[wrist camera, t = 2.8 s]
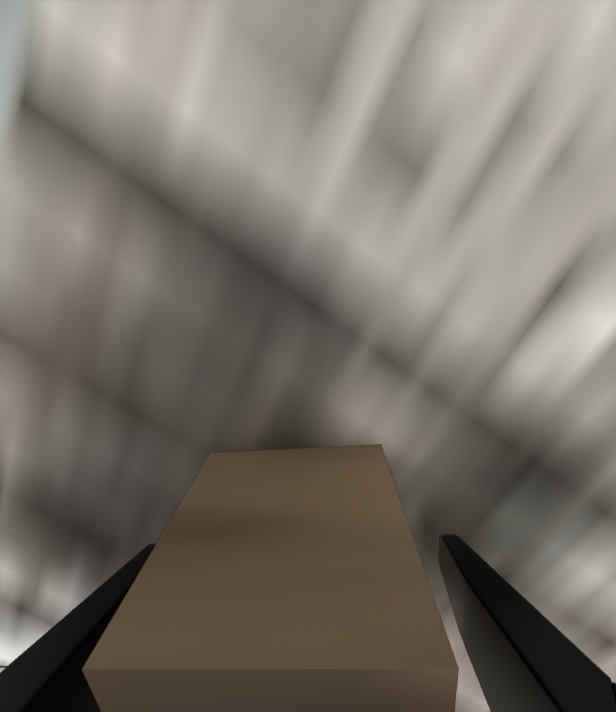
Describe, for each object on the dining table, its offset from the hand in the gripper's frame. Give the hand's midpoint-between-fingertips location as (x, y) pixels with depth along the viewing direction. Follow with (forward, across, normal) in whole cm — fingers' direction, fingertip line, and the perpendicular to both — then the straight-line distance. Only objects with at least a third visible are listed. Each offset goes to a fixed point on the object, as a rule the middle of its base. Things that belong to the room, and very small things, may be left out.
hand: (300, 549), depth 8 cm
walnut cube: (+1, 0, 0) cm, 1 cm away
